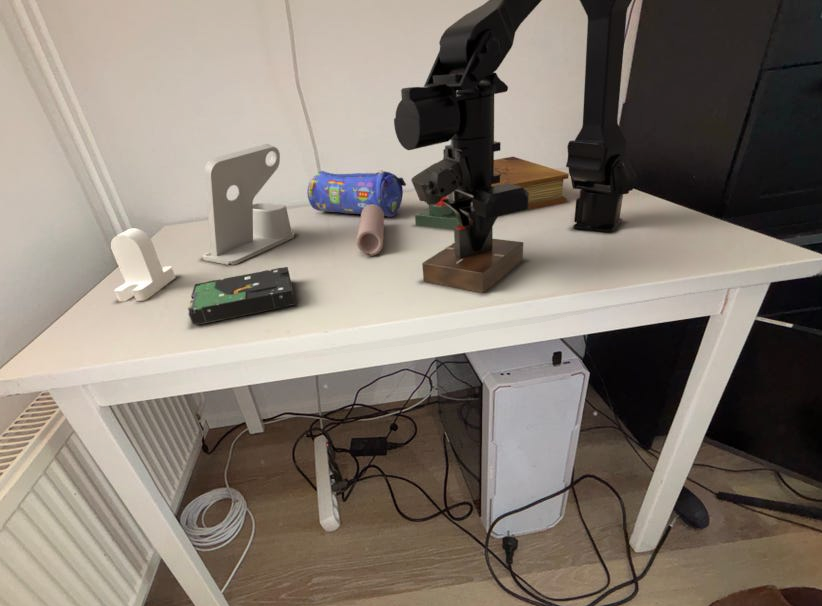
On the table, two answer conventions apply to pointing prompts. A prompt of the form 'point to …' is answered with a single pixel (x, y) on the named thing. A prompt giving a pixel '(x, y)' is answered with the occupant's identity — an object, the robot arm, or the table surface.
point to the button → (441, 201)
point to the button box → (437, 217)
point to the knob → (469, 241)
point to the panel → (473, 266)
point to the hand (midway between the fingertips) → (473, 248)
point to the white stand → (138, 266)
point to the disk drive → (240, 295)
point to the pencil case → (355, 192)
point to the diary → (532, 180)
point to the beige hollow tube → (371, 230)
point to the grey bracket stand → (243, 206)
